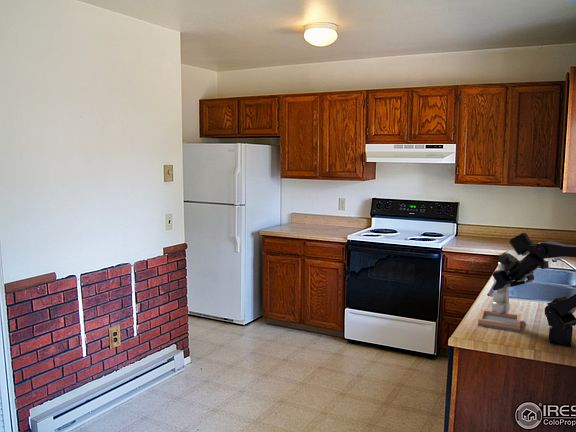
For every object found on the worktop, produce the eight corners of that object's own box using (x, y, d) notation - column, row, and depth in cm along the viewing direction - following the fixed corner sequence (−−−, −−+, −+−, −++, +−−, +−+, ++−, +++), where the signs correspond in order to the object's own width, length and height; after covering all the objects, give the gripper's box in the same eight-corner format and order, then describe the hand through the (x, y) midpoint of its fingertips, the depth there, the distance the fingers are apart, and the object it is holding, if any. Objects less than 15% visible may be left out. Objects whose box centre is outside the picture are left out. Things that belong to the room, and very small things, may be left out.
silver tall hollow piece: (487, 311, 192) (490, 261, 190) (502, 311, 193) (505, 260, 191) (497, 316, 185) (500, 264, 183) (513, 316, 187) (516, 264, 185)
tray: (520, 320, 193) (520, 314, 193) (519, 331, 181) (520, 325, 180) (480, 314, 200) (481, 309, 199) (477, 325, 187) (478, 319, 186)
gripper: (528, 245, 188) (501, 268, 199) (498, 249, 178) (471, 273, 189) (547, 270, 182) (517, 292, 193) (517, 275, 172) (487, 298, 183)
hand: (498, 288), depth 189 cm, fingers closed on silver tall hollow piece, 6 cm apart
